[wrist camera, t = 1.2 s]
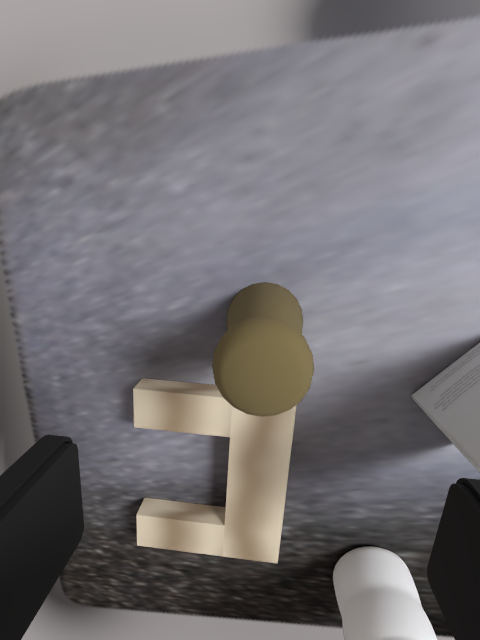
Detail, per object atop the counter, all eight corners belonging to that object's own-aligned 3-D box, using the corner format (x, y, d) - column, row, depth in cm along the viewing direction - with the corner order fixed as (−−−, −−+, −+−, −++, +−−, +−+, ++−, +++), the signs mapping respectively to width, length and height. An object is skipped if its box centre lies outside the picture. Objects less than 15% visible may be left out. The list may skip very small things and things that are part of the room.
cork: (255, 369, 27) (247, 457, 16) (211, 311, 26) (172, 364, 15) (317, 329, 26) (352, 397, 15) (274, 266, 25) (279, 291, 14)
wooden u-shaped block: (294, 392, 27) (296, 404, 25) (276, 543, 31) (277, 563, 29) (142, 378, 28) (133, 388, 26) (145, 526, 32) (137, 545, 30)
